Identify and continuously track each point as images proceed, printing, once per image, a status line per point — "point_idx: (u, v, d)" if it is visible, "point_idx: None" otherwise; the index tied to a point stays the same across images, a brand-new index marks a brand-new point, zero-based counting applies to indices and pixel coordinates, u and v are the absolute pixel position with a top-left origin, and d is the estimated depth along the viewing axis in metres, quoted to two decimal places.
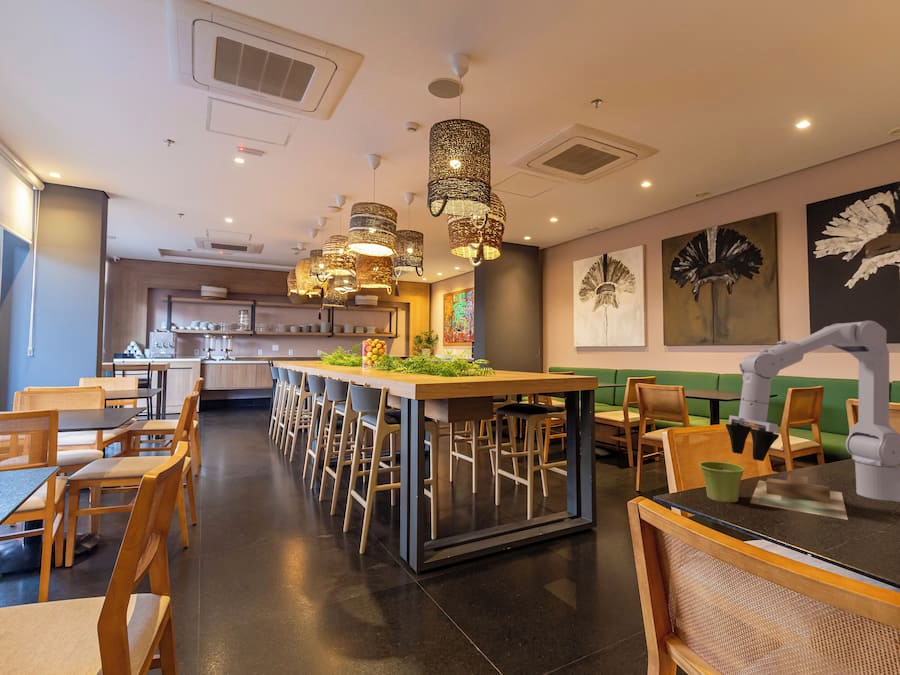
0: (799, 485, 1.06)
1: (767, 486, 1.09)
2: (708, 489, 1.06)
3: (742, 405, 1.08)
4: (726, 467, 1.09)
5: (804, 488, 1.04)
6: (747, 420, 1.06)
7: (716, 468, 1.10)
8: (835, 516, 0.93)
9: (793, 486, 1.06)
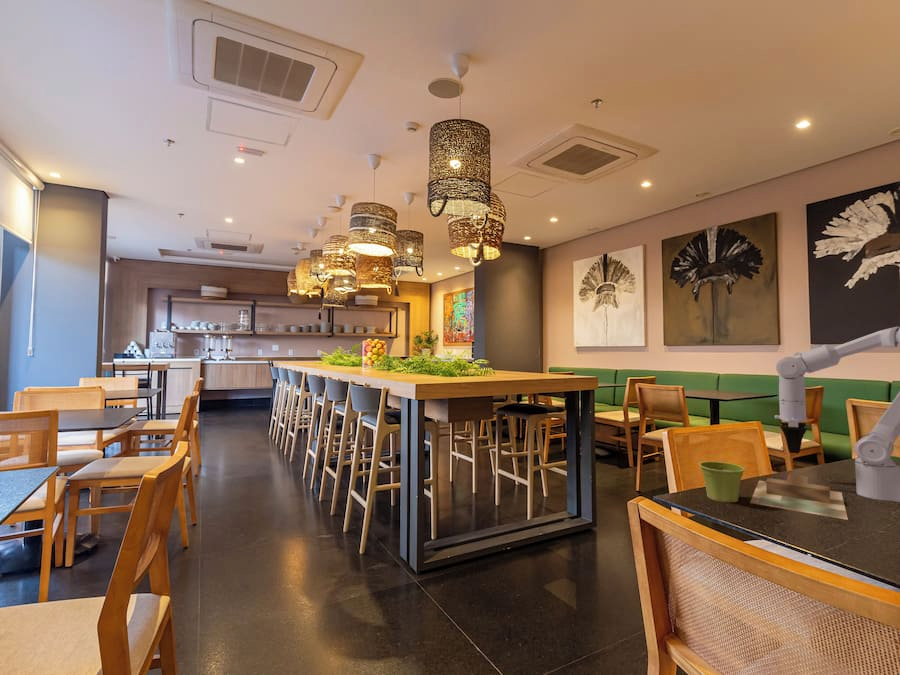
0: (799, 485, 1.06)
1: (767, 486, 1.09)
2: (708, 489, 1.06)
3: (779, 404, 1.22)
4: (726, 466, 1.09)
5: (804, 488, 1.04)
6: (781, 418, 1.20)
7: (716, 468, 1.10)
8: (835, 516, 0.93)
9: (793, 486, 1.06)
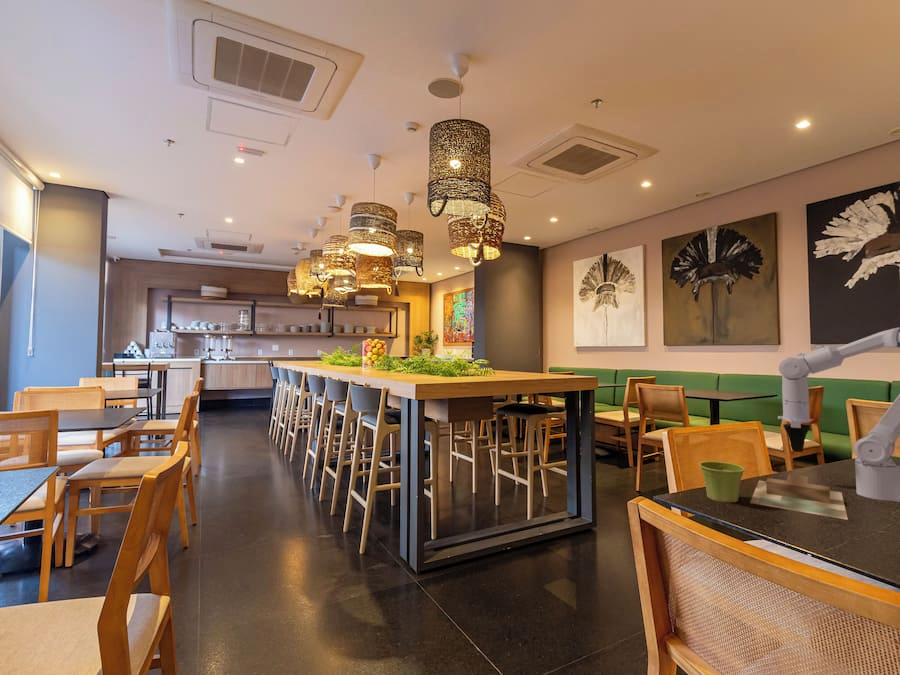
0: (799, 485, 1.06)
1: (767, 486, 1.09)
2: (708, 489, 1.06)
3: None
4: (726, 466, 1.09)
5: (804, 488, 1.04)
6: (784, 418, 1.20)
7: (716, 468, 1.10)
8: (835, 516, 0.93)
9: (793, 486, 1.06)
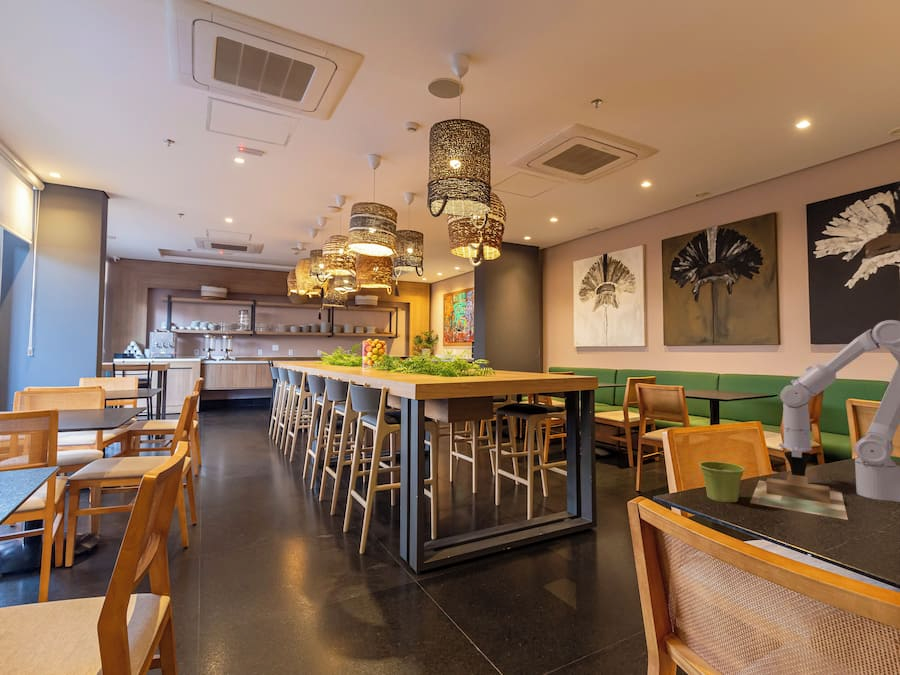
0: (799, 485, 1.06)
1: (767, 486, 1.09)
2: (708, 489, 1.06)
3: None
4: (726, 467, 1.09)
5: (804, 488, 1.04)
6: (785, 446, 1.19)
7: (716, 468, 1.10)
8: (835, 516, 0.93)
9: (793, 486, 1.06)
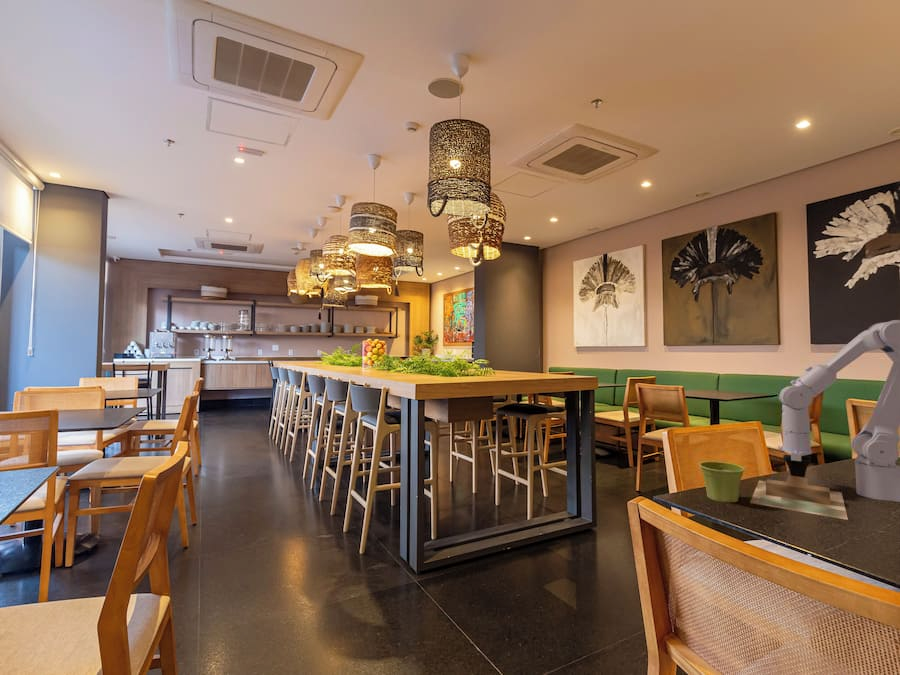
0: (799, 486, 1.05)
1: (766, 487, 1.08)
2: (708, 489, 1.06)
3: None
4: (726, 466, 1.09)
5: (804, 489, 1.03)
6: (784, 449, 1.15)
7: (716, 468, 1.10)
8: (835, 516, 0.93)
9: (793, 487, 1.05)
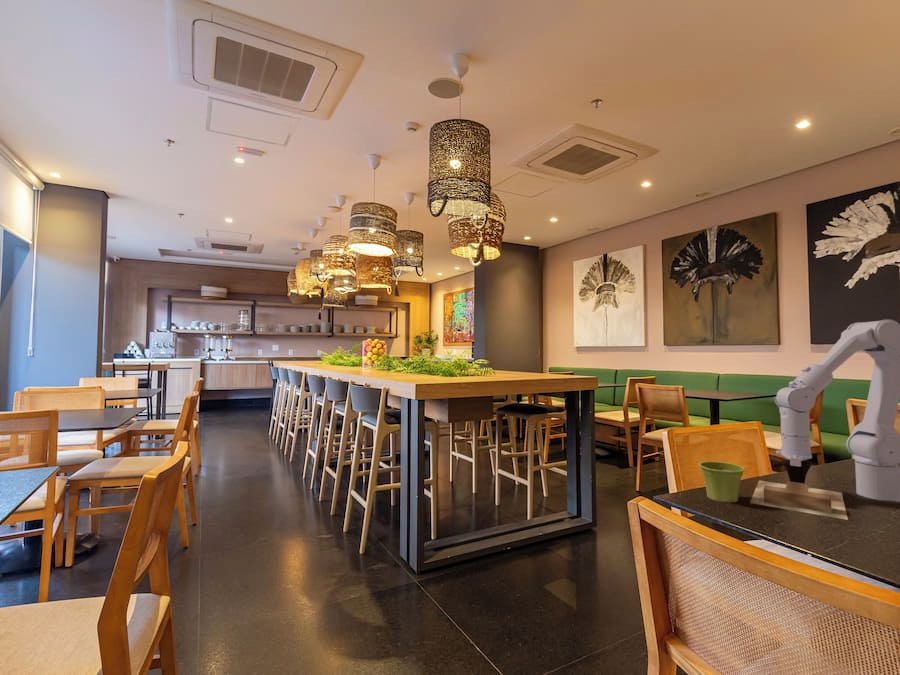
0: (798, 493, 0.99)
1: (764, 494, 1.03)
2: (708, 489, 1.06)
3: (781, 439, 1.12)
4: (725, 466, 1.09)
5: (804, 496, 0.98)
6: (783, 454, 1.10)
7: (716, 468, 1.10)
8: (835, 516, 0.93)
9: (792, 494, 0.99)
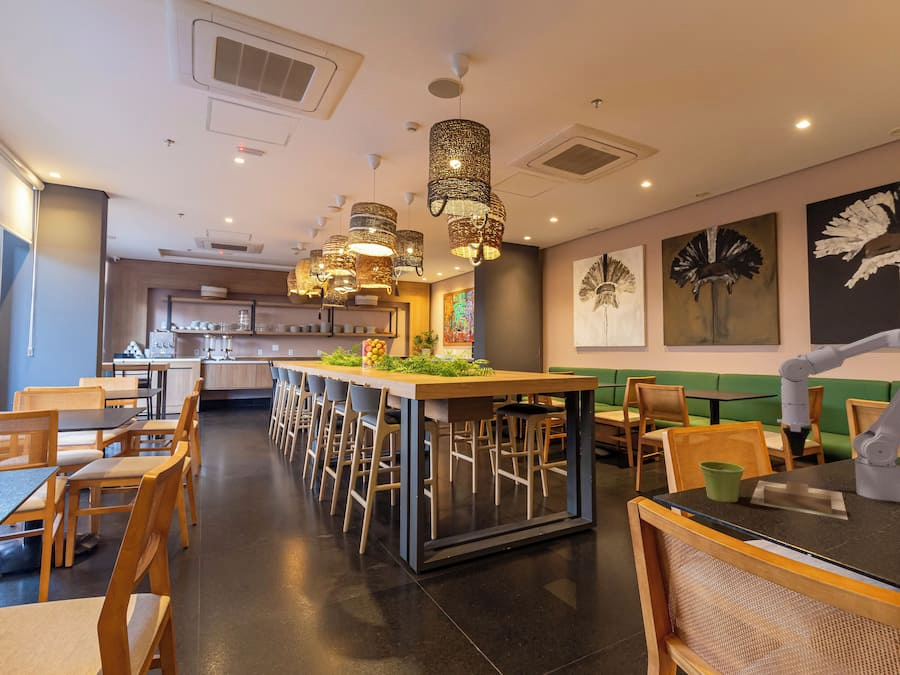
0: (798, 494, 0.99)
1: (764, 495, 1.02)
2: (708, 489, 1.06)
3: (782, 408, 1.18)
4: (725, 466, 1.09)
5: (804, 497, 0.98)
6: (783, 422, 1.16)
7: (716, 468, 1.10)
8: (835, 516, 0.93)
9: (792, 495, 0.99)
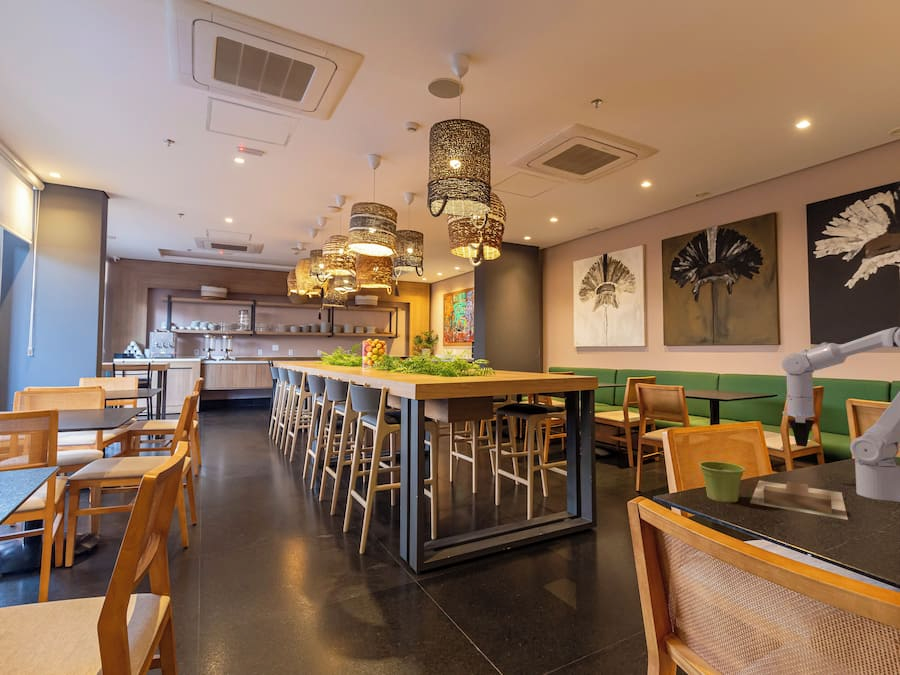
0: (798, 494, 0.99)
1: (764, 495, 1.02)
2: (708, 489, 1.06)
3: (787, 400, 1.24)
4: (726, 466, 1.09)
5: (804, 497, 0.98)
6: (788, 413, 1.22)
7: (716, 468, 1.10)
8: (835, 516, 0.93)
9: (792, 495, 0.99)
